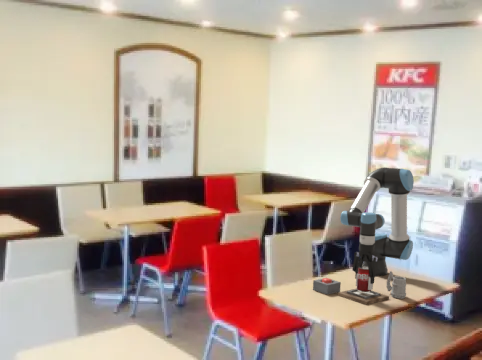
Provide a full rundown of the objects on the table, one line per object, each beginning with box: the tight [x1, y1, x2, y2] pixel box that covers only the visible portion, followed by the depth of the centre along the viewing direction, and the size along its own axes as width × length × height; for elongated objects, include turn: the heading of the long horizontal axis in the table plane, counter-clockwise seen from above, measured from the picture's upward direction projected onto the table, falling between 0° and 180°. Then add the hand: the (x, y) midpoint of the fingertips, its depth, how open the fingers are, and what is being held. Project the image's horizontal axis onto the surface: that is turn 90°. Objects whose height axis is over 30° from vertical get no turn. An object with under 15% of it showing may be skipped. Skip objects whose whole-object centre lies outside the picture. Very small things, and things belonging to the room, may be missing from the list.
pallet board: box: [337, 287, 390, 306], centre depth 299 cm, size 18×18×2 cm
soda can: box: [356, 265, 372, 292], centre depth 298 cm, size 7×7×12 cm
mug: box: [386, 270, 407, 300], centre depth 304 cm, size 8×12×12 cm, turn 35°
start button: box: [321, 277, 333, 284], centre depth 308 cm, size 5×5×5 cm
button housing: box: [312, 278, 342, 295], centre depth 308 cm, size 10×10×5 cm
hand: (364, 287), depth 299 cm, fingers closed on soda can, 7 cm apart
